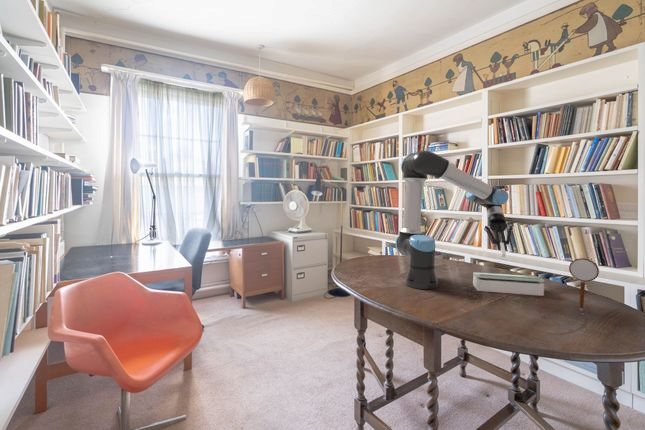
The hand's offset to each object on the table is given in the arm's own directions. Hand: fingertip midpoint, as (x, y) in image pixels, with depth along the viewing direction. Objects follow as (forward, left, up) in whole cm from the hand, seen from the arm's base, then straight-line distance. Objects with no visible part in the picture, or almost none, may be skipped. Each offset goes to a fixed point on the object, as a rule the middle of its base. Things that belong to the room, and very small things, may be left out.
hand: (503, 255), depth 147 cm
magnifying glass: (+20, -26, -15) cm, 36 cm away
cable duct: (0, -6, -15) cm, 16 cm away
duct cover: (0, -6, -9) cm, 11 cm away
